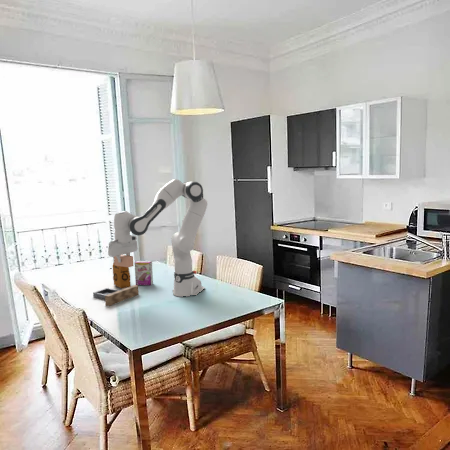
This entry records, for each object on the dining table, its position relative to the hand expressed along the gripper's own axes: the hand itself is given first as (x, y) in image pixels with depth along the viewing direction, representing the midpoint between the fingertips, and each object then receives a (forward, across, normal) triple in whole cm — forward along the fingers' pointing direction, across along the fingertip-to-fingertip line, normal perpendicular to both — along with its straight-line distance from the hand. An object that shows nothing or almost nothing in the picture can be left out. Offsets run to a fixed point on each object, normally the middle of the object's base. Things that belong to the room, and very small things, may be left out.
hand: (123, 261), depth 233 cm
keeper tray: (+25, +1, +15) cm, 29 cm away
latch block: (+3, 0, 0) cm, 3 cm away
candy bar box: (+25, +31, +14) cm, 42 cm away
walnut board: (+25, +1, +3) cm, 25 cm away
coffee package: (+25, +21, +25) cm, 41 cm away
